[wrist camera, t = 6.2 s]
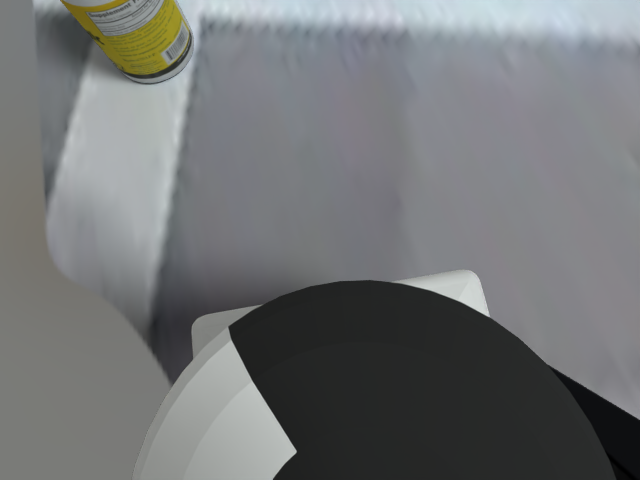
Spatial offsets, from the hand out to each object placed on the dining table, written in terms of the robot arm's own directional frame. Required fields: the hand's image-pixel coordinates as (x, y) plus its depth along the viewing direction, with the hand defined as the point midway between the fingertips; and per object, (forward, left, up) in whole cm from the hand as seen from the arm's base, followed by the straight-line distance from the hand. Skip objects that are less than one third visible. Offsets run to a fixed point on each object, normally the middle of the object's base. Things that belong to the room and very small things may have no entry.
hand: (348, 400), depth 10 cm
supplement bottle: (+23, -6, -12) cm, 27 cm away
